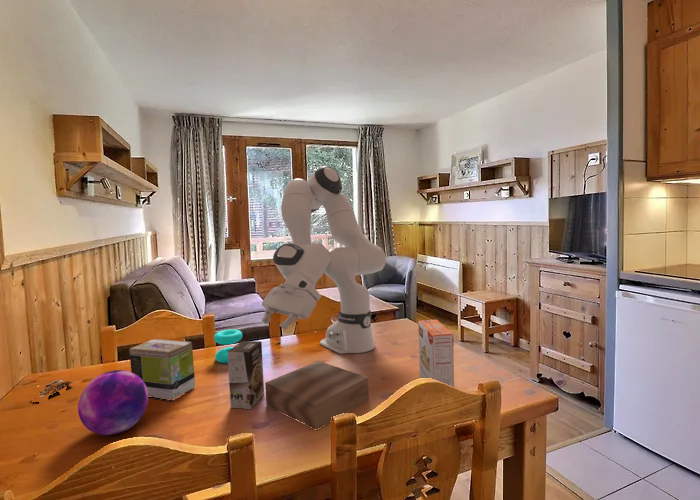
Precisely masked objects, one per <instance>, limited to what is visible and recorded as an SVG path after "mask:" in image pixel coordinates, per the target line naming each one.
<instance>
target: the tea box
mask: <svg viewBox="0 0 700 500" xmlns="http://www.w3.org/2000/svg"><path fill="white" fill-rule="evenodd" d="M193 350H194V349H193V342H192V341H185V340H174V339H173V340H171V339H159V338H158V339H157V338H153V339H150V340H148V341H145V342H144V343H141V344H138V345H136V346H133V347H130V348H129V349H128V351H129V360H130V372H132V373H134V374H136V375H137V376H139V377H140V378H141V379H142V380H143V381H144V383H145V385H146V387H147V390H148V396H151V397H156V398H162V399H169V400H173V399H175V398H176V397H178V396H180V395H182V394H183V393H185V392H187V391H189V390H190V389H192V388H194V387H195V388H196V378H195V366H194V365H195V363H194V353H193V352H194V351H193ZM195 388H194V389H195ZM192 390H193V389H192ZM189 392H190V391H189ZM162 399H161V400H162ZM169 400H168V401H169Z"/></svg>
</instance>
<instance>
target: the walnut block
mask: <svg viewBox="0 0 700 500" xmlns="http://www.w3.org/2000/svg"><path fill="white" fill-rule="evenodd" d="M264 390H265V405H267V406H266V407H268V406H269V407H268V408H270V407H271V408H270V409H272V408H273V409H272V410H274V409H275V410H274V411H275V412H278V411H279V412H278V413H280V412H281V413H280V414H282V413H284V414H286V415H288V416H290V417H292V418H294V419H297V420H299V421H300V422H303V423H305V424H306V425H308V426H310V427H312V428H314V429H318V428H320V427H322V426H323V425H325V424H327V425H328V423H329V424H330V423H331V422H330V421H331V417H333V416H336V415H339V414H342V413H346V414H348V413H349V412H351V411H352V410H354V409H356V408H358V407H359V406H361V405H363V404H365V403H366V402H368V401H369V397H370V395H369V377H368V376H365V375H362V374H359V373H357V372H353V371H350V370H348V369H344V368H341V367H338V366H336V365H335V366H334V365H333V364H329V363H327V362H323V361H320V360H317V361H314V362H312V363H309V364H307V365H305V366H303V367H299V368H297V369H294V370H293V371H289V372H287V373H285V374H283V375H280V376H278V377H275V378H273V379H271V380H268V381H266V382H265V381H264ZM348 411H349V412H348ZM284 414H283V415H284ZM286 415H285V416H286ZM288 416H287V417H288ZM290 417H289V418H290ZM292 418H291V419H292ZM294 419H293V420H294ZM300 422H299V423H300ZM306 425H305V426H306ZM308 426H307V427H308ZM325 426H326V425H325ZM310 427H309V428H310ZM323 427H324V426H323ZM323 427H322V428H323ZM312 428H311V429H312ZM314 429H313V430H314ZM320 429H321V428H320ZM318 430H319V429H318Z"/></svg>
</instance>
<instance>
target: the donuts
mask: <svg viewBox="0 0 700 500" xmlns="http://www.w3.org/2000/svg"><path fill="white" fill-rule="evenodd" d="M213 339H214V342H215V343H217V344H219V345H226V347H224V348H221V349H219V350H218V351H217V352H216V353H215V354H214V355H215V356H214V357H215V358H214V359H215V360H216V361H217V362H218V363H221V364H228V351H229V350H230V349H232V348H233V347H234V346H228V347H227V345H232V344H235V343H239V342H241V340H242V339H243V332H242V331H241V330H240V329H236V328H235V329H233V328H232V329H229V328H228V329H223V330H220V331H218V332H216V333H215V334H214V336H213Z"/></svg>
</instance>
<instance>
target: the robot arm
mask: <svg viewBox="0 0 700 500" xmlns="http://www.w3.org/2000/svg"><path fill="white" fill-rule="evenodd" d="M342 190H343V186H342V182H341V177H340V174H339V172H338V171H337V170H335V168H333V167H331V166H329V165H323V166H321V167H318V168H317V169H316V170H315V172H314V173H313V174H312V175H311V176H310V177H309V178H308V179H307V180H305V179H303V178H293V179H292V180H290V181H289V182H288V183H287V185H286V187H285V189H284V193H283V196H282V200H281V204H280V205H281V207H280V211H281V218H282V221H283V223H284V224H285V226H286V228H287V230H288V232H289V234H290V237H291V239H292V243H290V242H289V243H284V244H282V245H279V247H278V248H276V250H275V251H274V252H273V256H272V260H273V263H274V264H275V266H276V268H277V269H278V271H279V273H280V274H281V275H282V277H283V278H284V279H285V281H284V282H283V284H279V285H277V286H275V287H273V288H272V289H271V290H270V291H269V292H268V293H267V294H266V295H265V297H264V298H263V300H262V302H261V306H262V307H263V308H264V309H265V310H264V316H263V317H262V319H261V322H262V323H263V324H265V325H268V324H269V323H270V321H271V315H273V314H274V313H277V314H280V315H284V316H288V317H287V318H286V319H285V320H282V321H281V324H280V325H279V327H280V328H282V329H284V330H287V329H288V328H289V326H291V325H292V324H293V323H294V322H296V320H297V319H301V320H306V319H308V318H309V317H310V315H312V313H313V311H314V309H315V308H316V306H317V302H318V301H320V299H322V298H321V297H322V295H321V294H320V292H319V291H318V290H317V288H316V286H317V282H318V281H319V280H320V278H322V277H323V275H326V276H327V277H329V278H330V279H331V280H332V281H333V282H334V284H335V285H336V287H337V289H338V292H339V293H338V294H339V299H340V300H339V301H340V310H339V311H337V312H336V313H335V316H338V317H337V320H336V321H335V322H334V323H332V324H331V325H330V326H328V328H326V331H325V338H323V339H321V340H320V342H319V344H320V345H321V346H323V347H325V348H328V349H329V350H331V351H334V352H335V353H337V354H339V355H341V354H342V355H345V354H361V353H366V352H369V351H370V352H371V351H372V350H374V349H375V348H376V345H375V342H374V336H373V332H372V331H373V330H372V325H371V323H372V311H371V306H370V291H369V290H368V288H367V287H366V286H364V285H362V284H360V283H358V282H357V281H356V276H361V275H370V274H375V273H377V272H380V271H382V270H383V269H384V268H385V266H386V263H387V257H386V253H385V251H384V250H383V248H382V247H381V246H378V245H376V244H375V243H373V242H372V241H370V240H369V239H368V237H366V236H365V235H364V233H363V232H362V230H361V228H360V227H359V224H358V221H357V217H356V215H355V211H354V209H353V207H352V205H351V203H350V201H349V198H348V197H347V196H346V195H345V194H343V193H342ZM321 207H323V208H324V210H325V214H326V219H327V223H328V227H329V231H330V234H331V237H332V239H333V240H334V241H335V242H336V243H338V244H339V245H341V246H340V247H333V248H330V249H327V247H325V246H324V245H323V244H322V243H320V242H318V241H314V242H312V239H311V237H312V236H311V235H312V234H311V230H312V229H311V226H312V225H311V224H312V221H311V220H312V219H311V218H312V213H314V212H317V211H318V210H319V209H320V208H321ZM342 246H343V247H342Z"/></svg>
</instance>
